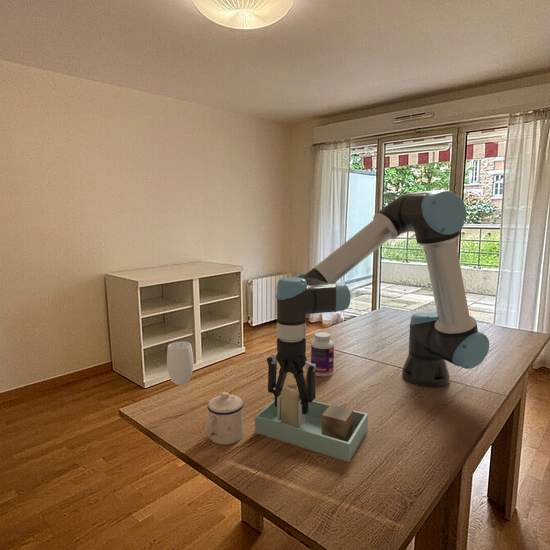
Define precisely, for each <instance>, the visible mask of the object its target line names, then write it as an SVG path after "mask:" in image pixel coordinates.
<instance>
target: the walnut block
mask: <svg viewBox="0 0 550 550" xmlns="http://www.w3.org/2000/svg"><path fill="white" fill-rule="evenodd" d="M353 410H354V409H350V408H346V407H343V406H338V405H334V404H330V406H329V407H328V408H327V410H326V411H325V412H324V413H323V414H322V435H325V436H328V437H332V438H335V439H339V440H342V441H346V442H348V441H349V440H350V438H351V436H352V431H353Z"/></svg>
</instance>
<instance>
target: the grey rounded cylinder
mask: <svg viewBox="0 0 550 550" xmlns="http://www.w3.org/2000/svg"><path fill="white" fill-rule="evenodd" d="M194 363H195V362H194V352H193V348H192V343H191V342H188V341H175V342H174V341H173V342H171V343H169V344H168V346H167V351H166V367H167V371H168V372H167V373H168V376H169V378H170V380H171V382H172V383H174V384H175V385H177V386H184V385H186V384H187V383H189V381H191V378H192V375H193V372H194V371H193V369H194Z"/></svg>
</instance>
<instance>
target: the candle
mask: <svg viewBox="0 0 550 550" xmlns="http://www.w3.org/2000/svg"><path fill="white" fill-rule="evenodd" d="M300 401H301V399H300V395H299V391H298V387H297V385H295V384H287V385H286V386H285V387H283V389H282V390H281V423H284V424H287V425H290V426H294V427H297V426H298V403H299V402H300Z"/></svg>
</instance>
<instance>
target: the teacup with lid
mask: <svg viewBox="0 0 550 550" xmlns="http://www.w3.org/2000/svg"><path fill="white" fill-rule="evenodd" d="M206 407H207V411H208V419H207V420H206V422H205V424H204V428H203V429H204V435H205V436H206V437H208V438H209V439H210V441H212V443H215V444H218V445H222V446H223V445H224V446H225V445H232V444H235V443H237V442H238V441H240V440H241V439H242V438H243V436H244V425H243V423H244V421H243V419H244V418H243V416H244V415H243V412H244V411H243V407H244V402H243V399H242V398H241V397H239V396H237V395H234V394H230V393H229V392H227V391H224V392H221V394H220V395H217V396H214V397H212V398H211V399H210V400H209V401H208V403H207V406H206Z"/></svg>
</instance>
